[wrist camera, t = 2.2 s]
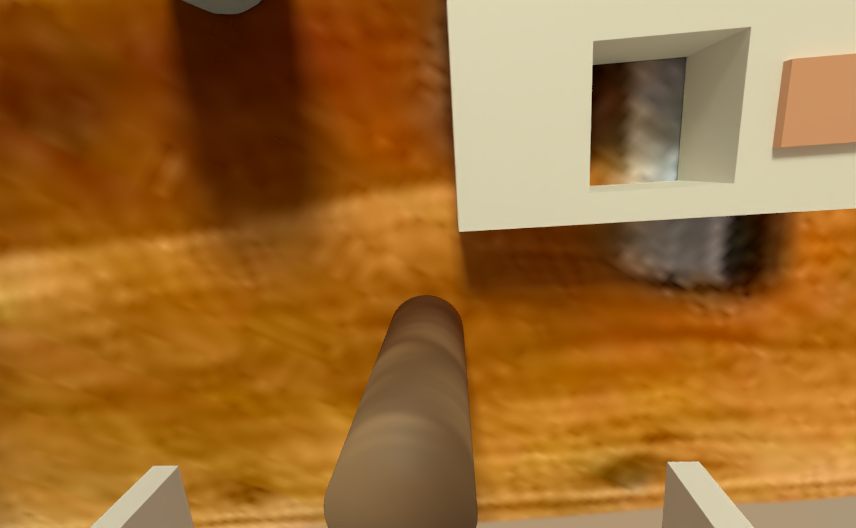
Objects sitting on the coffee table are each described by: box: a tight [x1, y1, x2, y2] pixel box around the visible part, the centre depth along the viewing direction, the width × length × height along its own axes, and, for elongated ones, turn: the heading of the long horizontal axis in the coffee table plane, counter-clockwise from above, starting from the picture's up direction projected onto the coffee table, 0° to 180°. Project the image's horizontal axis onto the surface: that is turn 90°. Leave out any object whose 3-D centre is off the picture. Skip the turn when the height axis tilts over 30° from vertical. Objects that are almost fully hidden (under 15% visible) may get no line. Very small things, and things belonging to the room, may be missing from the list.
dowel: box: [324, 295, 477, 528], centre depth 16 cm, size 4×4×12 cm
